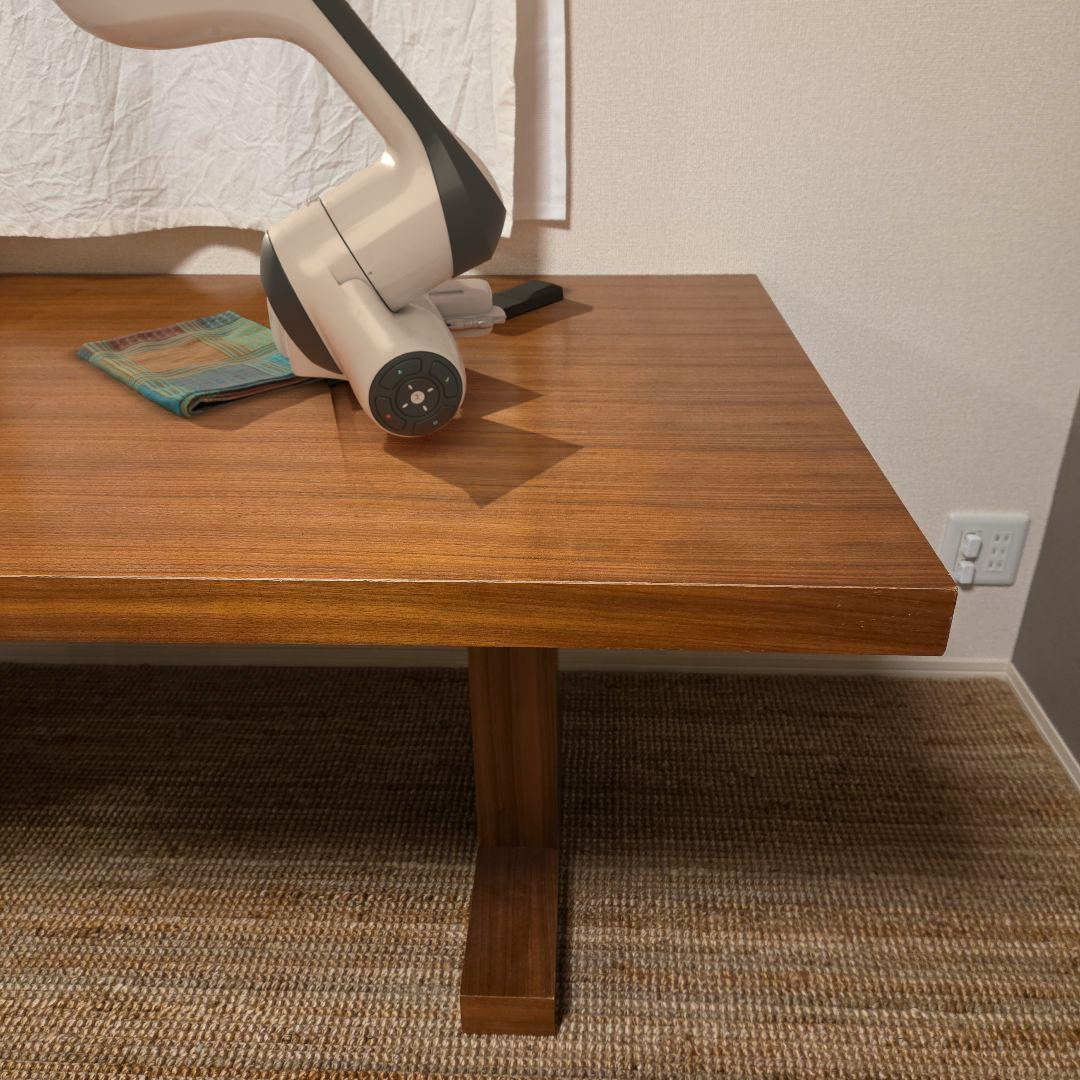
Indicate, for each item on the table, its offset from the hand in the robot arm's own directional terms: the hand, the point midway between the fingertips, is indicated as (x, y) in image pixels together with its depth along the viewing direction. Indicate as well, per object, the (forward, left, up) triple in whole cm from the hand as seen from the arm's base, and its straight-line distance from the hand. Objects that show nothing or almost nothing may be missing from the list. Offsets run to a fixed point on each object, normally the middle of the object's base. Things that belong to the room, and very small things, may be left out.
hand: (374, 290), depth 97 cm
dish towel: (-16, -1, -7) cm, 17 cm away
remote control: (+16, +12, -7) cm, 21 cm away
